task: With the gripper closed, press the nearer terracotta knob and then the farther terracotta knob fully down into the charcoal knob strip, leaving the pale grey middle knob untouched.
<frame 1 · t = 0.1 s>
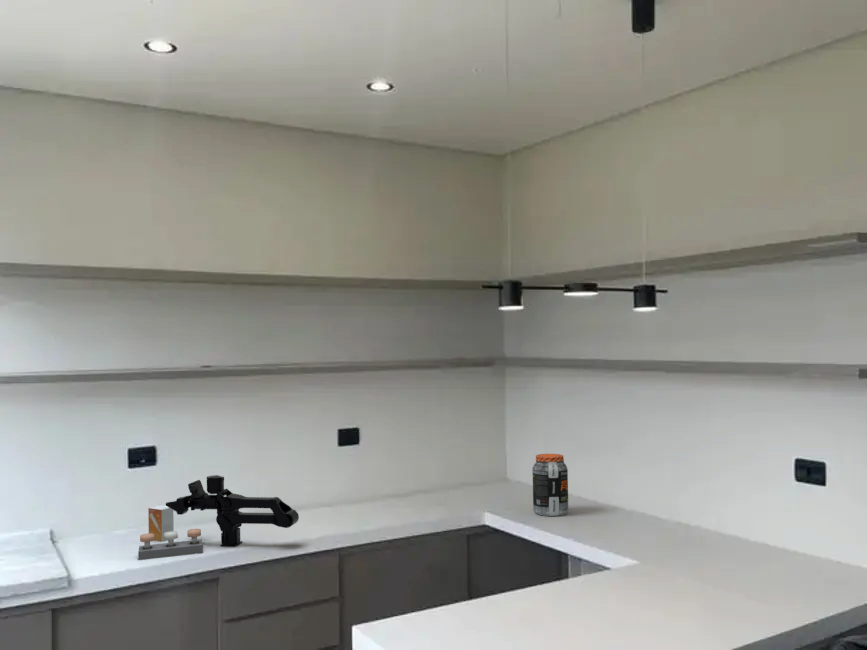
hand: (172, 501, 305), 17 cm above the countertop, tool horizontal, fingers open, 9 cm apart
knob strip: (171, 553, 290), on the countertop
knob middle: (170, 539, 290), point 5 cm above the countertop, slide at 0.0 cm
knob 2: (194, 537, 292), point 5 cm above the countertop, slide at 0.0 cm
knob 1: (147, 541, 287), point 5 cm above the countertop, slide at 0.0 cm
small box: (161, 539, 312), on the countertop
supplement tub: (551, 513, 341), on the countertop
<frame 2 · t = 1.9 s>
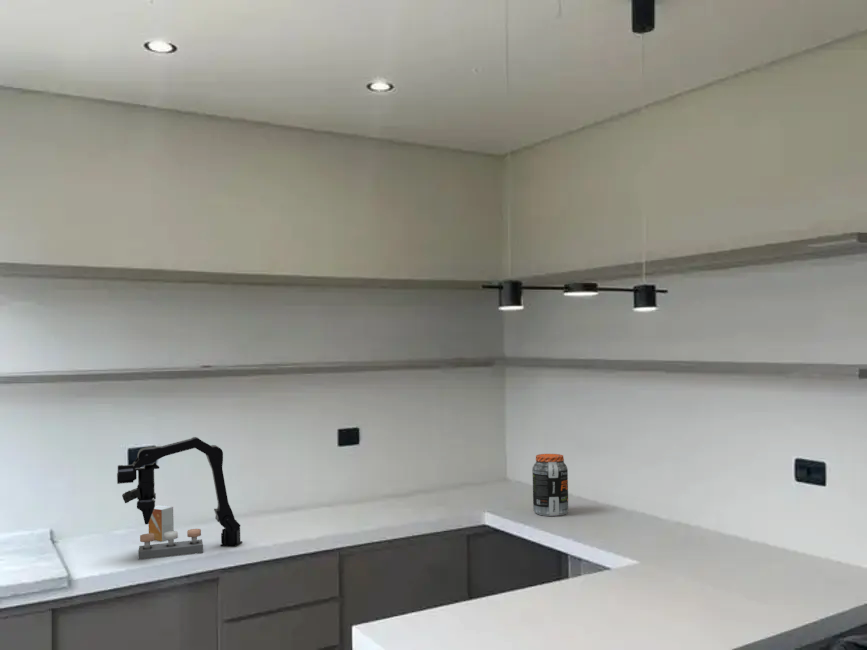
hand: (146, 522, 287), 13 cm above the countertop, tool pointing down, fingers open, 6 cm apart
nothing on the countertop moved.
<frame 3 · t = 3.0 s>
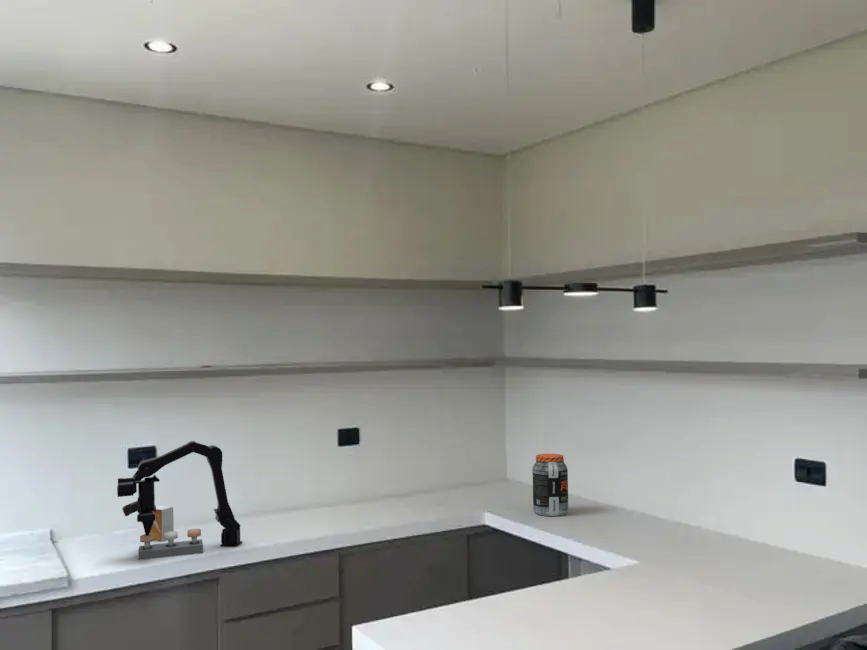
hand: (147, 535, 287), 8 cm above the countertop, tool pointing down, fingers closed, pressing on knob 1
knob 1: (147, 542, 287), point 5 cm above the countertop, slide at 0.1 cm, touching gripper
everything else where it was.
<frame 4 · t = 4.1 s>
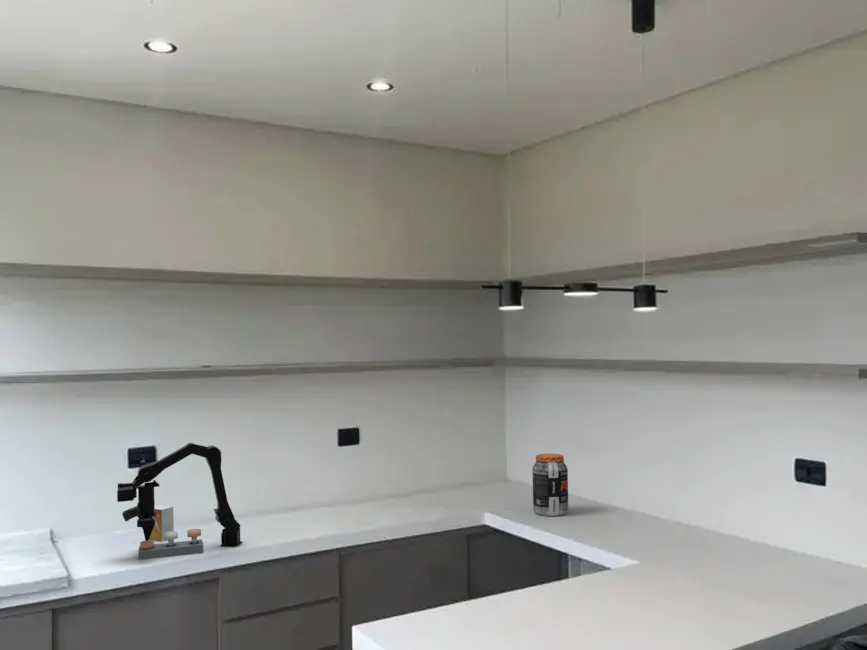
hand: (147, 540, 287), 6 cm above the countertop, tool pointing down, fingers closed
knob 1: (147, 548, 287), point 3 cm above the countertop, slide at 2.6 cm
everything else where it was.
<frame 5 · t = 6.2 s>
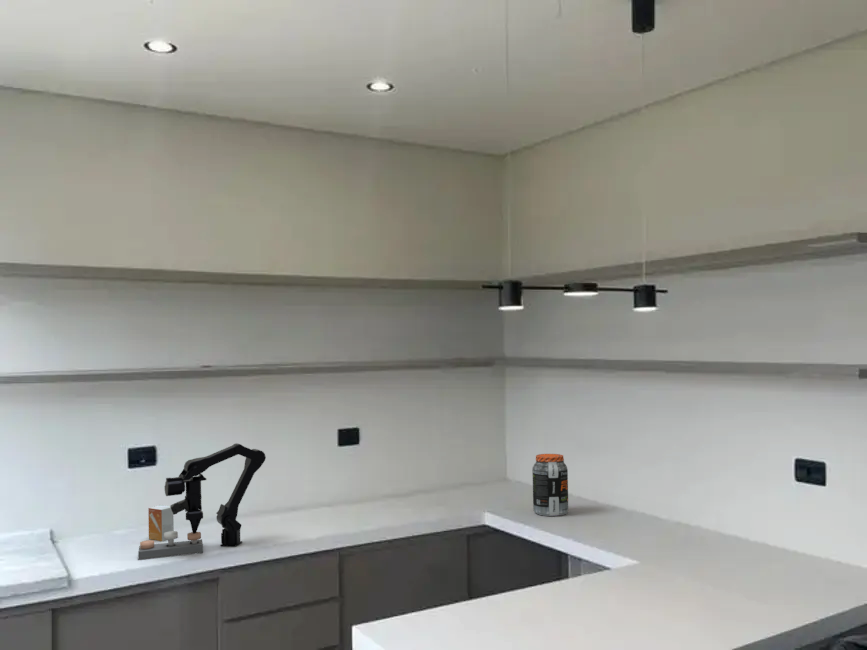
hand: (194, 533, 292), 7 cm above the countertop, tool pointing down, fingers closed, pressing on knob 2
knob 2: (194, 540, 292), point 4 cm above the countertop, slide at 1.2 cm, touching gripper
everything else where it was.
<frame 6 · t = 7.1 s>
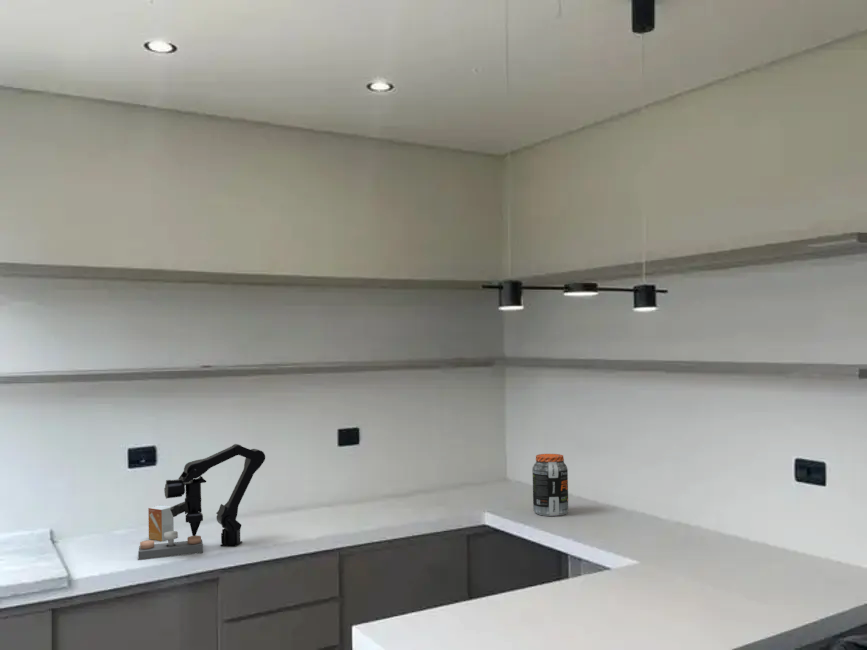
hand: (194, 535, 292), 6 cm above the countertop, tool pointing down, fingers closed
knob 2: (194, 543, 292), point 3 cm above the countertop, slide at 2.6 cm
everything else where it was.
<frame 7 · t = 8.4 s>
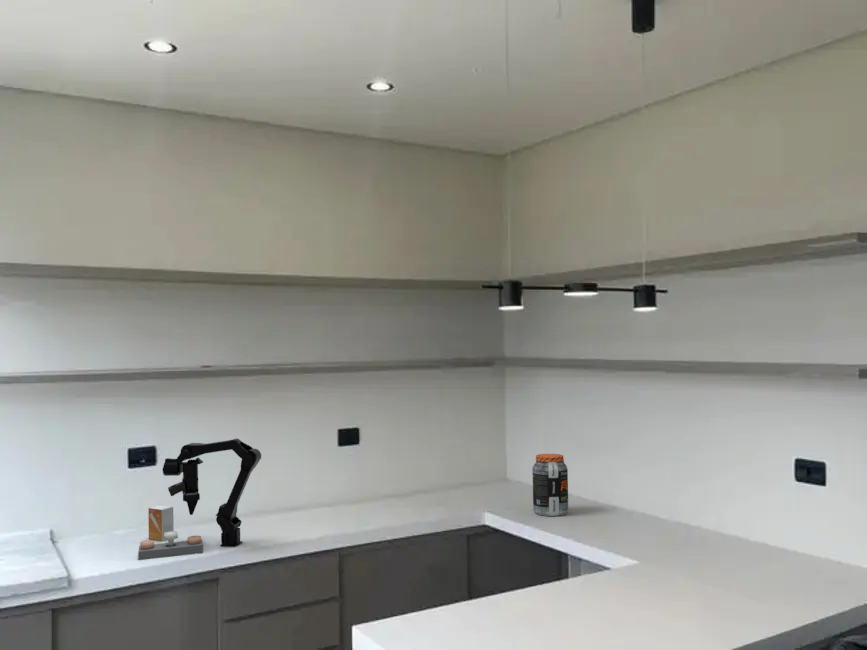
hand: (191, 514, 301), 12 cm above the countertop, tool pointing down, fingers closed
nothing on the countertop moved.
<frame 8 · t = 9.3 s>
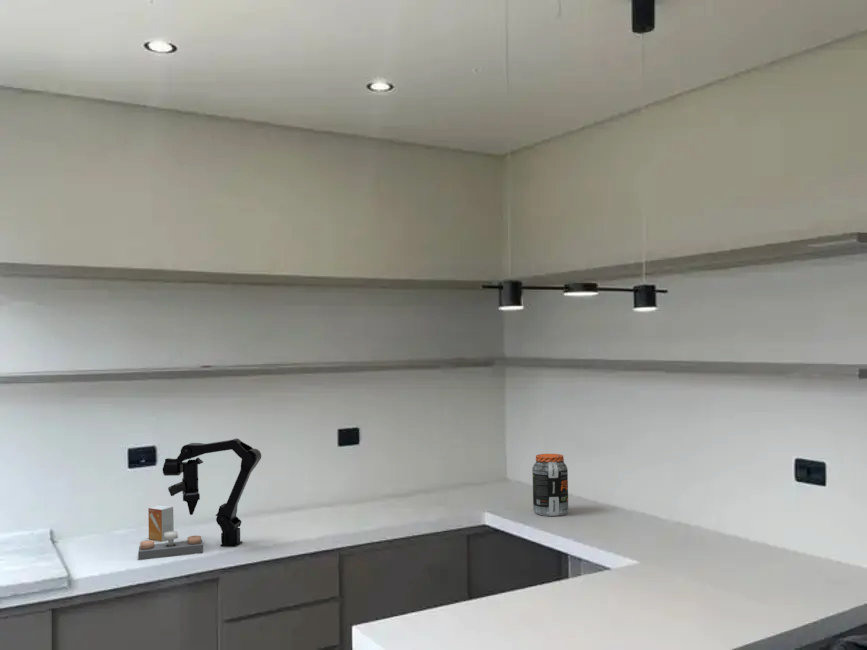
hand: (191, 514, 301), 12 cm above the countertop, tool pointing down, fingers closed
nothing on the countertop moved.
at the end: knob 1 slide at 2.6 cm; knob 2 slide at 2.6 cm; knob middle slide at 0.0 cm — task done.
